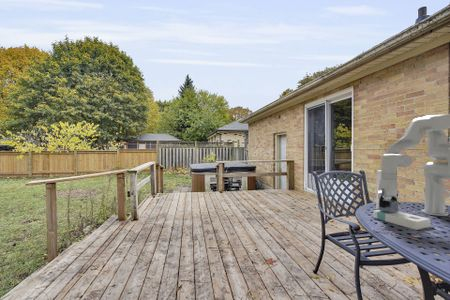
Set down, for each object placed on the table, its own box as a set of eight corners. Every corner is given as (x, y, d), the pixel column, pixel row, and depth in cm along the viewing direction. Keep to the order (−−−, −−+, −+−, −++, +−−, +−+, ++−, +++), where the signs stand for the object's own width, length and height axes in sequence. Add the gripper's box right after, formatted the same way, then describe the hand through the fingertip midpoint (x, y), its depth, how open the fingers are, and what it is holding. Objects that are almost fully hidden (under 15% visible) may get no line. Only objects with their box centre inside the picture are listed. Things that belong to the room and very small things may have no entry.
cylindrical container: (391, 211, 156) (392, 171, 155) (378, 210, 157) (379, 171, 157) (386, 208, 163) (387, 170, 162) (374, 207, 164) (375, 170, 164)
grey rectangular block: (385, 216, 144) (385, 198, 144) (397, 219, 137) (398, 201, 137) (378, 217, 141) (378, 199, 141) (391, 221, 135) (391, 201, 135)
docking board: (373, 217, 141) (373, 210, 141) (386, 215, 146) (386, 208, 146) (416, 229, 121) (416, 221, 121) (430, 226, 126) (430, 218, 126)
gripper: (391, 174, 146) (390, 203, 146) (372, 176, 139) (371, 206, 139) (405, 176, 139) (404, 206, 139) (385, 177, 132) (385, 209, 132)
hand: (388, 206), depth 139 cm, fingers open, 9 cm apart
